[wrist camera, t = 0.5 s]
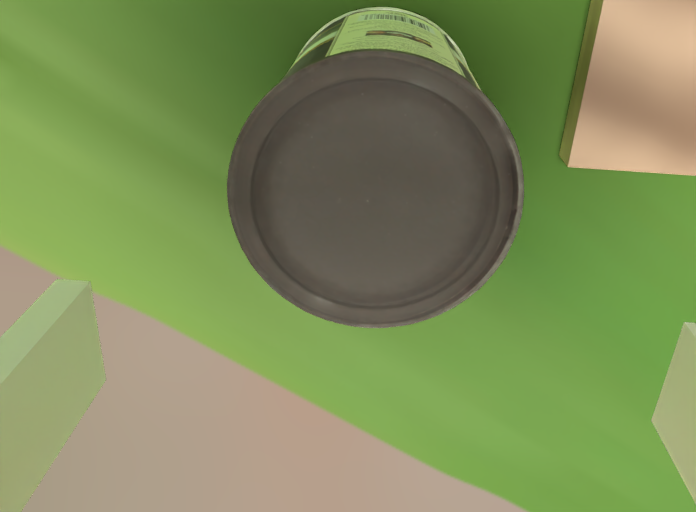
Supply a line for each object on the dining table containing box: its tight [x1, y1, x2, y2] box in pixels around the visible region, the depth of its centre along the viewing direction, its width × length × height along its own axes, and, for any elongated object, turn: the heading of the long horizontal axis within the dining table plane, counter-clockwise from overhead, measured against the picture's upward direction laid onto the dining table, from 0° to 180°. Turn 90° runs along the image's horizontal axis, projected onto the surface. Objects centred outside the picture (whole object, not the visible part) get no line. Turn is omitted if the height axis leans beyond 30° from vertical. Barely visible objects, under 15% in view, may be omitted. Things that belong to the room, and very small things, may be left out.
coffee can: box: [227, 7, 524, 328], centre depth 28 cm, size 10×10×14 cm
